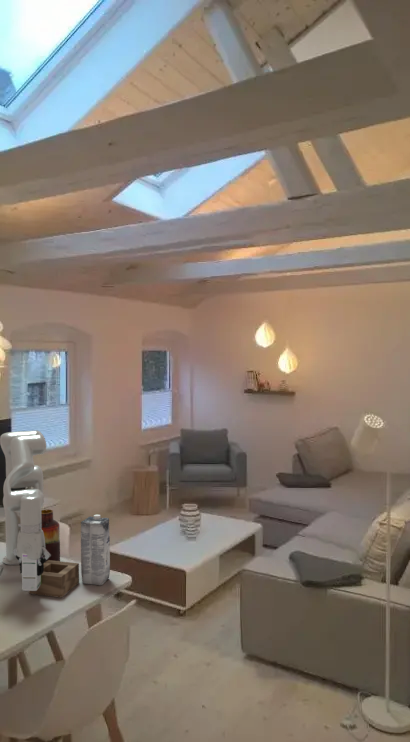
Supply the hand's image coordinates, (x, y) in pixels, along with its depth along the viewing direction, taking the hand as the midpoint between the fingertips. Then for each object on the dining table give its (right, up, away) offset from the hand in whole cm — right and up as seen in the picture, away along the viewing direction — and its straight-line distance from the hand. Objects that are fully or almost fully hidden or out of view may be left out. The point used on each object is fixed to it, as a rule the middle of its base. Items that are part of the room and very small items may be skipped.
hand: (31, 572), depth 209 cm
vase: (-2, -9, +26) cm, 28 cm away
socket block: (+6, -10, +10) cm, 15 cm away
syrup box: (0, -6, 0) cm, 6 cm away
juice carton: (+21, -9, +16) cm, 28 cm away
